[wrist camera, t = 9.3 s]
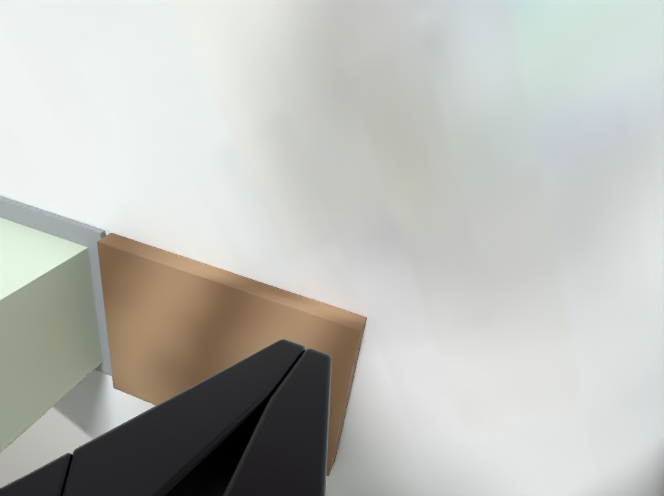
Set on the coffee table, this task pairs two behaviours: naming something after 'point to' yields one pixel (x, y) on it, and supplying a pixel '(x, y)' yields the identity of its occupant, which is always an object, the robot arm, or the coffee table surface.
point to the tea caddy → (42, 324)
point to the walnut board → (210, 325)
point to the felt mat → (77, 235)
